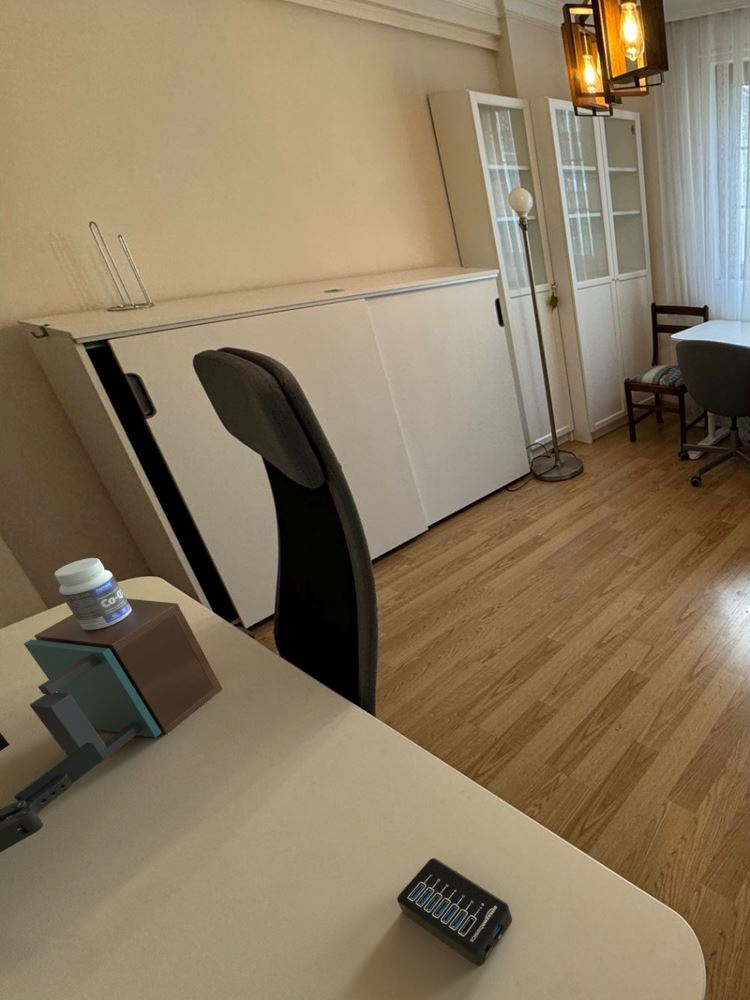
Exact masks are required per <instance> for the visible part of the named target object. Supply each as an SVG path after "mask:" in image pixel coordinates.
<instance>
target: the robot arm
mask: <svg viewBox="0 0 750 1000" xmlns="http://www.w3.org/2000/svg"><path fill="white" fill-rule="evenodd" d="M9 746H10V743H9V741H8V740H7V739H6V738H5V737H4V735H3V734H2V733H1V732H0V752H2V751H3V750H4V749H6V748H8V747H9ZM102 760H103V757H102V756H101V754H100V753H99V752H98V750H97V749H96V747H95V746H94V744H93V743H89V742H87V743H86V744H84V745H83V746H81V747H80V748H79V749H77V750H76V751H75V752H73V753H72V754H71V755H69V756H66V757H65V758H64V759H63V760H61V761H60V762H58V763H57V764H56V765H55V766H53V767H52V768H50V769H49V770H47V771H46V772H45V773H43V774H42V775H40V776H39V777H38V778H37V779H35V780H34V781H33V782H31V783H30V784H29V785H27V786H26V787H25V788H23V789H22V790H20V792H18V793H17V794H16V795H14V796H13V798H14V799H15V800H16V801H15V802H12V803H11V804H8V805H6V806H3V807H1V808H0V853H2V852H4V851H6V850H7V849H9V848H11V847H13V846H14V845H17V844H18V843H19V842H21V841H23V840H25V839H27V838H29V837H30V836H32V835H34V834H36V833H37V832H39V831H40V830H41V829H42V828H43V827H44V823H43V821H42V819H41V817H39V816H38V815H39V813H40V812H41V811H42V810H43V809H44V808H46V807H47V806H48V805H50V804H51V803H52V802H53V801H55V800H56V799H57V798H58V797H60V796H61V795H63V794H64V793H65V792H66V791H67V790H69V789H70V788H71V787H72V785H73V784H74V783H75V782H77V781H78V780H79V779H81V777H83V776H84V775H86V774H87V773H89V772H90V771H91V770H92V769H93V768H94V767H96V766H97V765H99V764H100V763H99V762H101V761H102ZM102 762H103V761H102ZM102 762H101V763H102Z"/></svg>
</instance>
